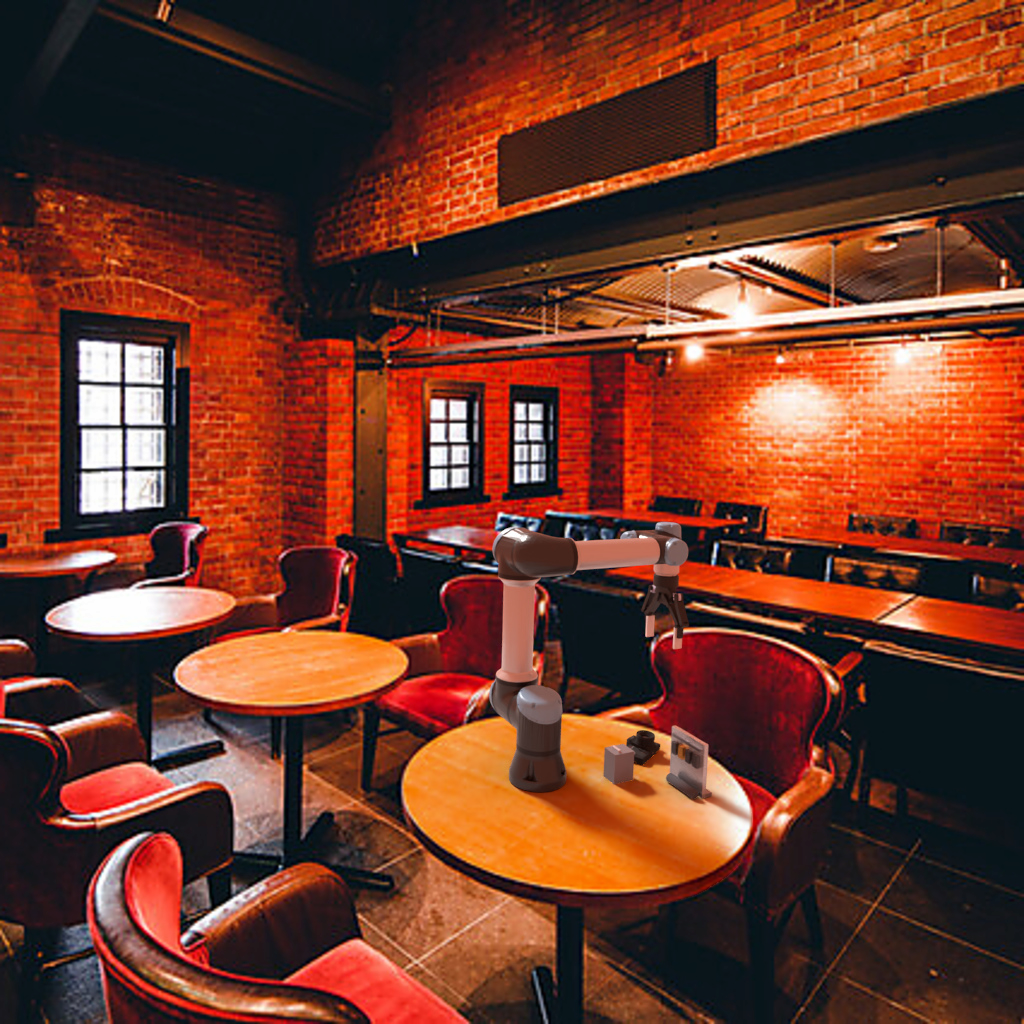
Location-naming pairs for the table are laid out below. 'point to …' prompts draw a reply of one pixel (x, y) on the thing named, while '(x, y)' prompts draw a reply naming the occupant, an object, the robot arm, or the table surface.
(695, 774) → the breaker panel
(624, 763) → the grey tall block
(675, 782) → the gray cylinder
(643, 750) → the film camera
